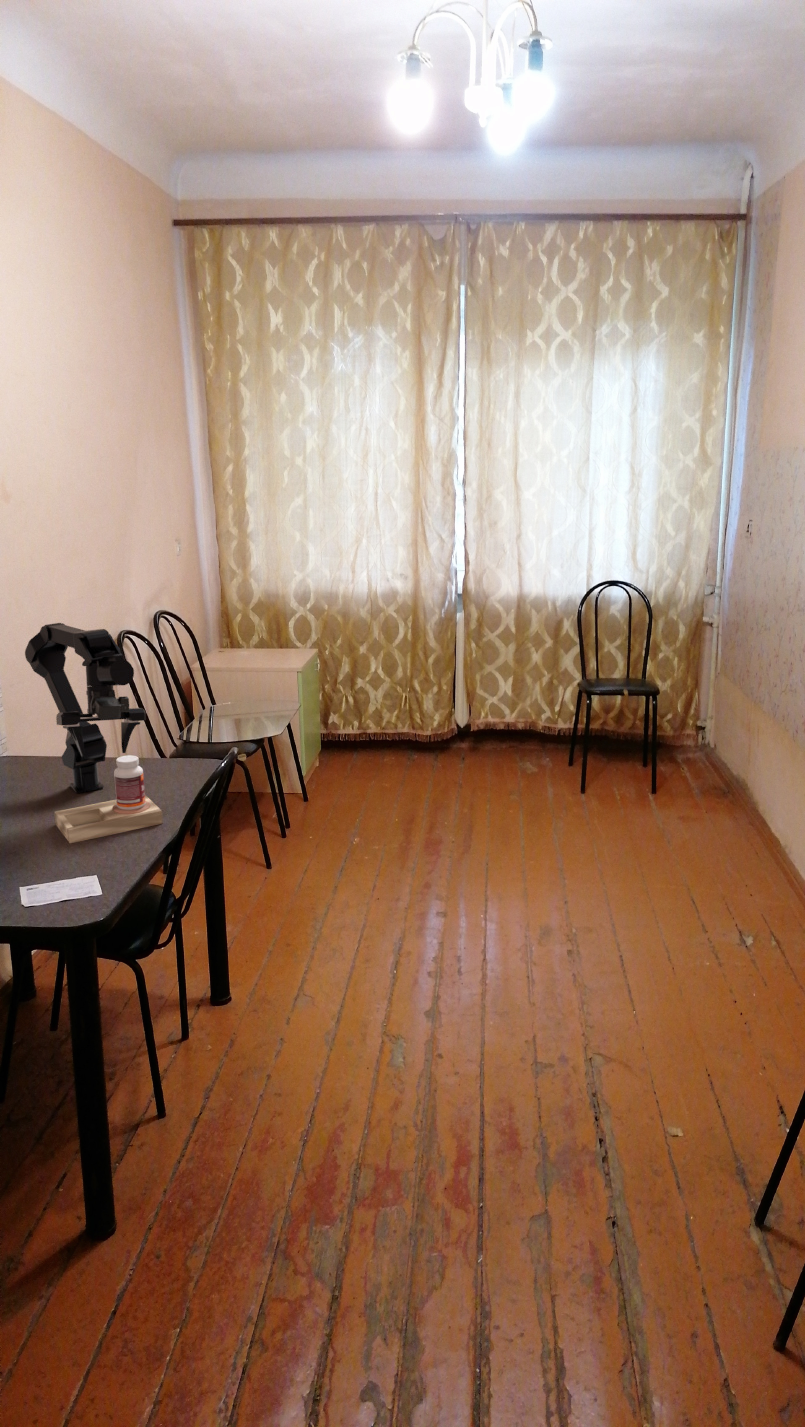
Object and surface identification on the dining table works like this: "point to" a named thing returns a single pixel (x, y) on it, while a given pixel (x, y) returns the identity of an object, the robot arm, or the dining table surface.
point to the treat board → (105, 820)
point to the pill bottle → (129, 783)
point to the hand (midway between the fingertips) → (103, 754)
